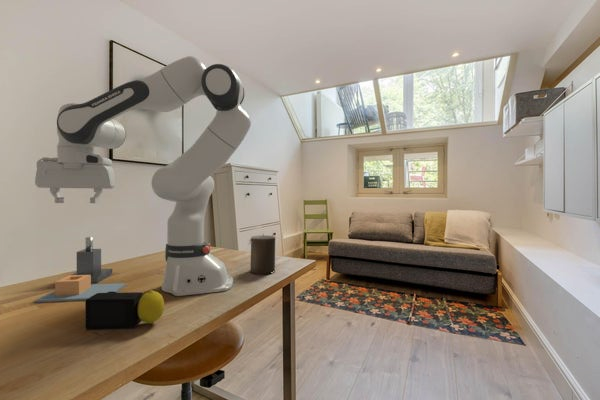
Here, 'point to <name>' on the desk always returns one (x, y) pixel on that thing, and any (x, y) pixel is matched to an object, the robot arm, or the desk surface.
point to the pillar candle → (262, 254)
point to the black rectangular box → (112, 310)
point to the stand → (91, 263)
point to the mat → (83, 296)
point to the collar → (72, 285)
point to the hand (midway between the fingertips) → (76, 203)
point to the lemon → (150, 307)
